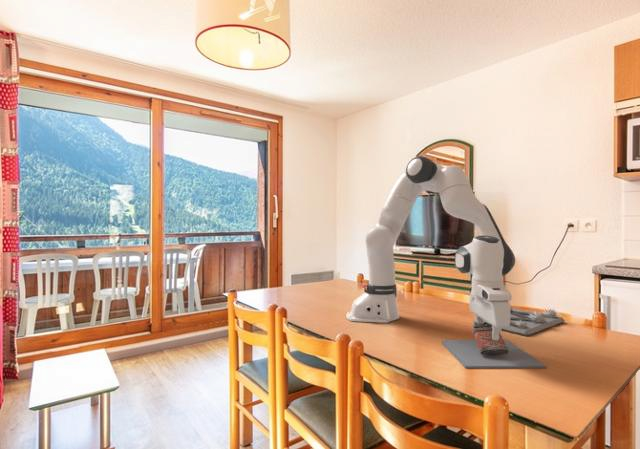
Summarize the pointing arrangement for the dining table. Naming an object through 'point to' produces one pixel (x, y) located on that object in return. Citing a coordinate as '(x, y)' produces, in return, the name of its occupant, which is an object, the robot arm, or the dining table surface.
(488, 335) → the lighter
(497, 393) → the dining table surface
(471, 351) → the mat
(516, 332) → the grey spiked board
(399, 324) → the dining table surface
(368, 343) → the dining table surface
